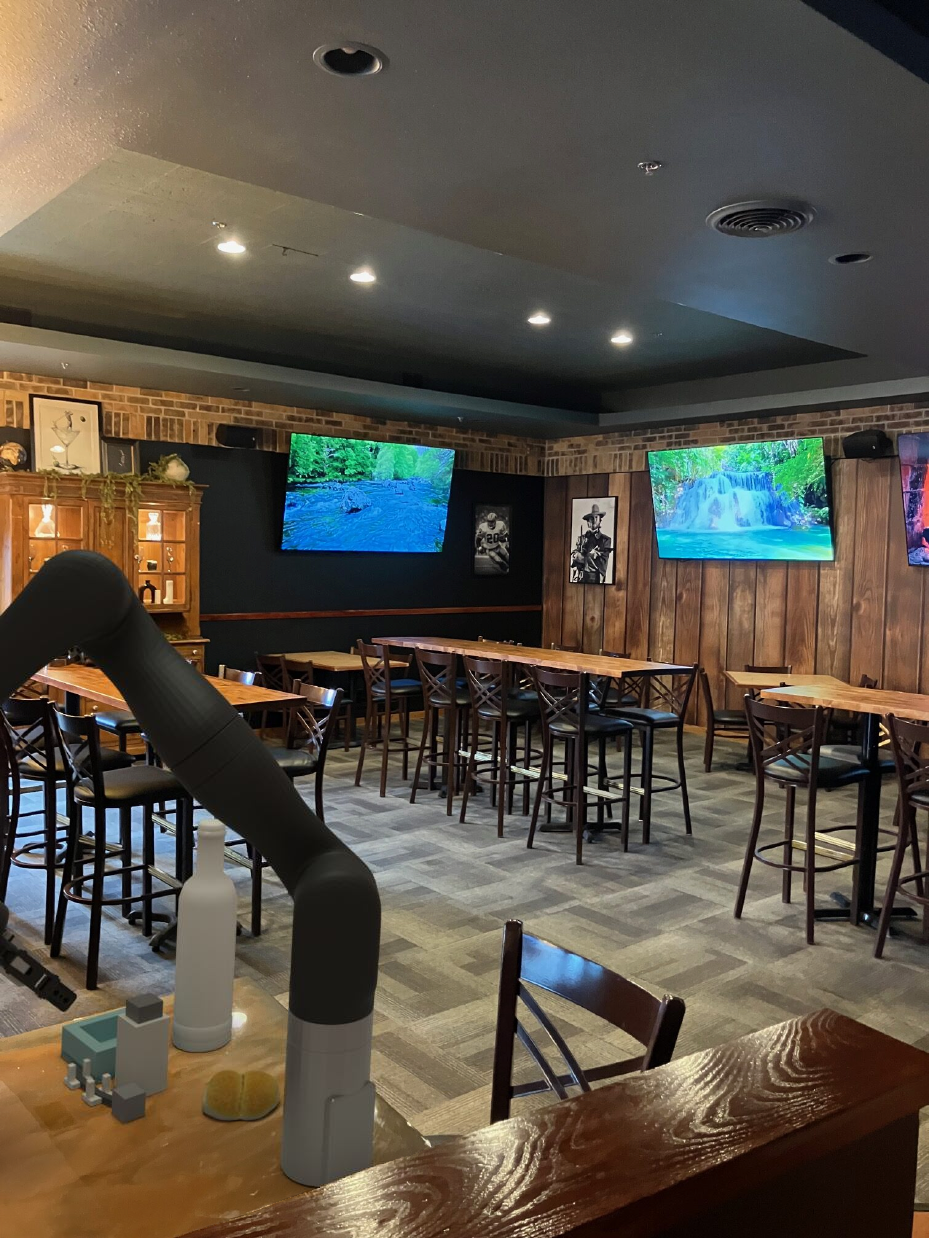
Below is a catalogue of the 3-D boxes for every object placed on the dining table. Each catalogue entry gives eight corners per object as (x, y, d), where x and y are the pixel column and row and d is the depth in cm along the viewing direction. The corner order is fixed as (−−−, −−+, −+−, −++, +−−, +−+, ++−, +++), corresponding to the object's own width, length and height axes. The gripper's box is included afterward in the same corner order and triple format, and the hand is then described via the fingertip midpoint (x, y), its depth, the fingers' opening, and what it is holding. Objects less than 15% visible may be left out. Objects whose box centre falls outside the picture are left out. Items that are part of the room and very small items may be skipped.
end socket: (165, 1060, 127) (166, 1030, 127) (95, 1084, 121) (96, 1052, 120) (129, 1034, 134) (130, 1006, 134) (61, 1056, 127) (62, 1025, 127)
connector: (166, 1089, 120) (170, 1000, 120) (132, 1101, 117) (136, 1010, 117) (148, 1075, 124) (152, 989, 123) (114, 1087, 120) (118, 998, 120)
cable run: (144, 1115, 114) (145, 1091, 114) (114, 1126, 112) (115, 1102, 112) (89, 1070, 124) (90, 1048, 124) (60, 1079, 121) (61, 1057, 121)
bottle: (222, 1054, 130) (233, 830, 129) (163, 1051, 130) (174, 826, 129) (237, 1028, 138) (247, 816, 137) (181, 1024, 138) (191, 813, 137)
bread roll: (278, 1122, 115) (279, 1089, 115) (199, 1125, 113) (201, 1091, 113) (280, 1086, 123) (281, 1055, 123) (206, 1088, 121) (208, 1057, 121)
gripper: (4, 899, 100) (106, 982, 109) (-47, 866, 110) (50, 945, 118) (-54, 963, 96) (57, 1043, 105) (-102, 923, 106) (3, 1000, 115)
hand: (53, 991), depth 112 cm, fingers open, 8 cm apart
